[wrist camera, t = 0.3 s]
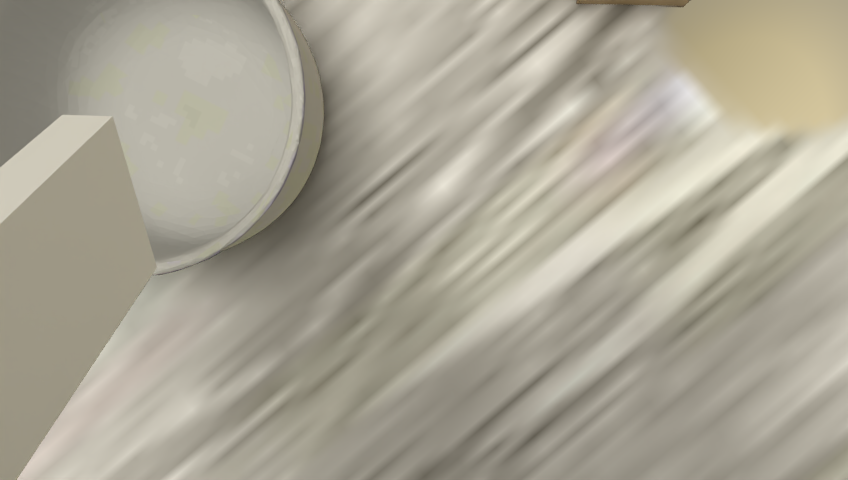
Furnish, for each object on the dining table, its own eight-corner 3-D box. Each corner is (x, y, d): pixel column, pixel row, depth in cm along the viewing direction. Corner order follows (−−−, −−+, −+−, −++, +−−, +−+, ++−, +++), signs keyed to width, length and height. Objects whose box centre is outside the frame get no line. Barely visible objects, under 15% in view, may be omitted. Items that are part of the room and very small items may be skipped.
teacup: (222, -75, 28) (117, -185, 20) (407, 131, 28) (377, 103, 20) (-19, 165, 29) (-208, 152, 21) (156, 362, 29) (32, 424, 21)
